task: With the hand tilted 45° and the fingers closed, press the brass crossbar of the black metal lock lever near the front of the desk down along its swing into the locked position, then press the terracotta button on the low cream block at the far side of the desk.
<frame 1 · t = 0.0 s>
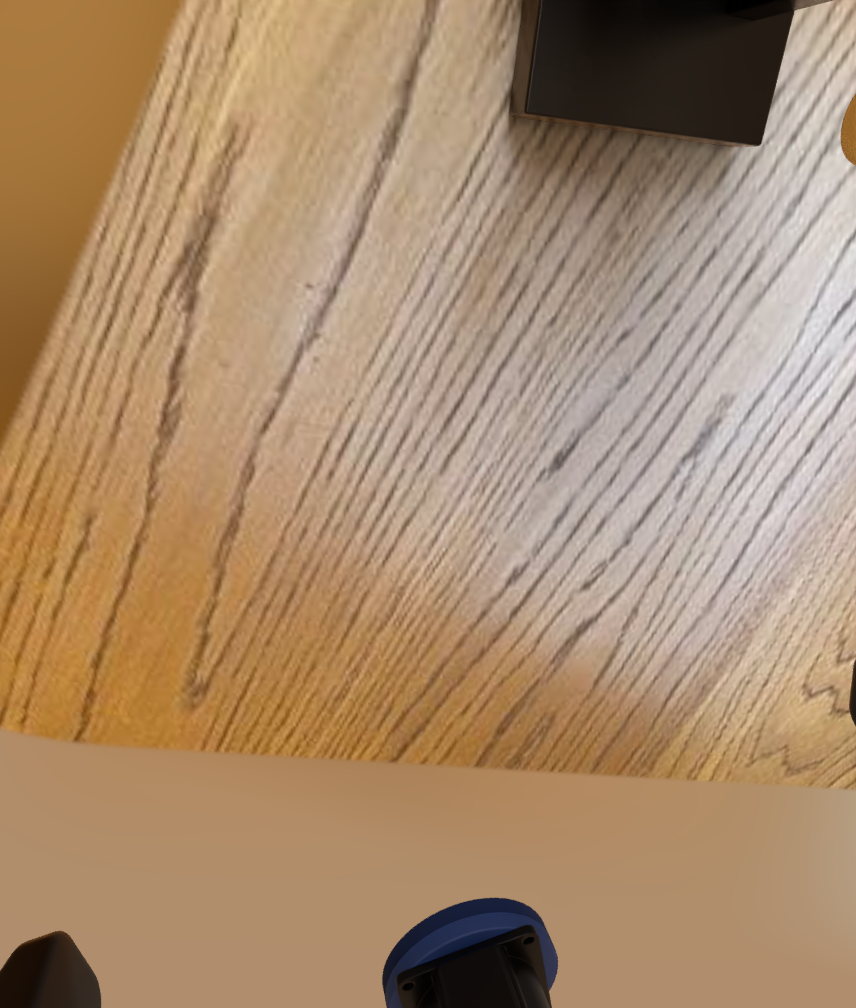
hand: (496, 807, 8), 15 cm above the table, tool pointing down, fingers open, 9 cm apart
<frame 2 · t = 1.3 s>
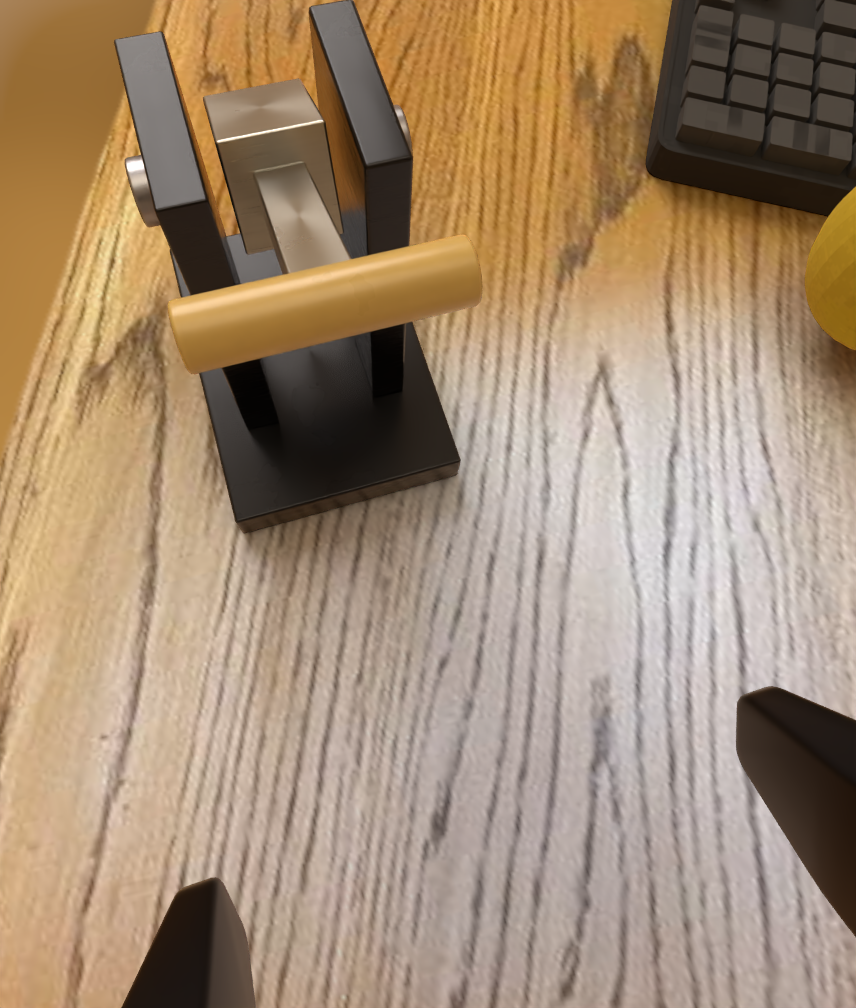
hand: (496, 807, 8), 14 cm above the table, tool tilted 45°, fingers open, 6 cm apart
lock lever: (294, 216, 15), point 10 cm above the table, hinge at 25.0°
black upright frame: (312, 368, 25), on the table
lemon: (835, 330, 27), on the table
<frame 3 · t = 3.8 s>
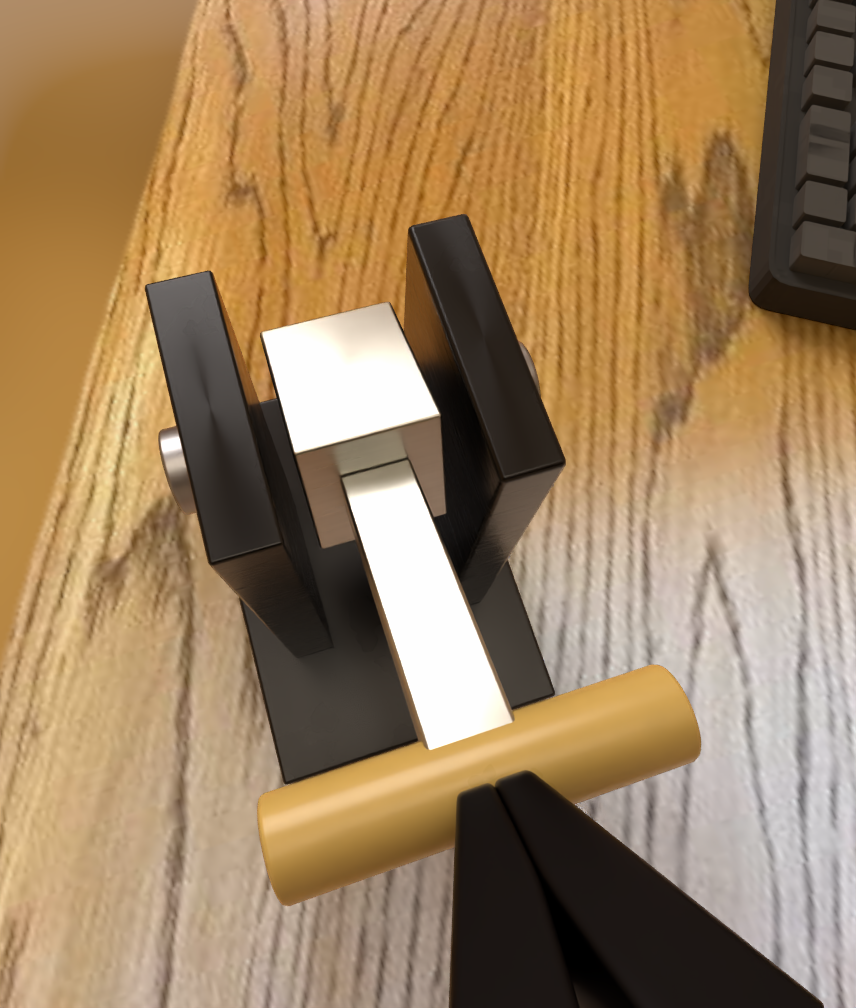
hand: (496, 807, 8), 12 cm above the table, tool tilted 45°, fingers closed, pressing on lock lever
lock lever: (399, 548, 11), point 10 cm above the table, hinge at 19.4°, touching gripper
black upright frame: (368, 560, 21), on the table
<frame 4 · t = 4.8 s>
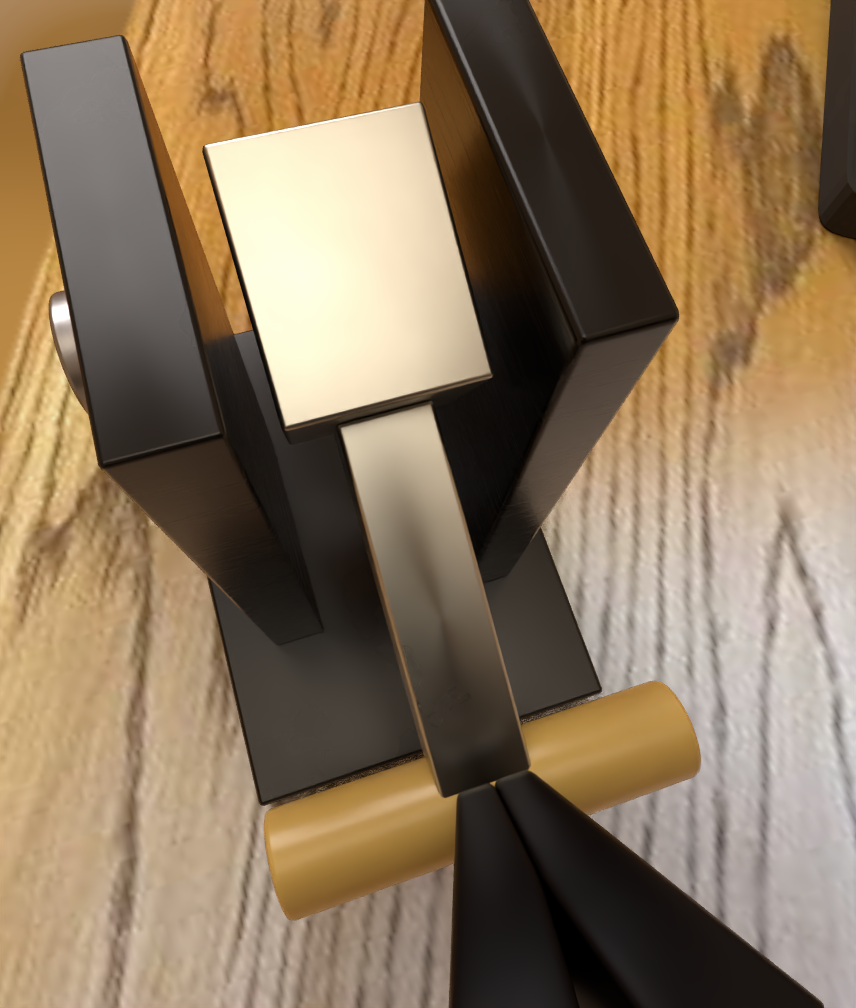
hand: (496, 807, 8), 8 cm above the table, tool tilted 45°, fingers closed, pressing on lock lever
lock lever: (408, 516, 9), point 8 cm above the table, hinge at -21.1°, touching gripper
black upright frame: (367, 528, 17), on the table
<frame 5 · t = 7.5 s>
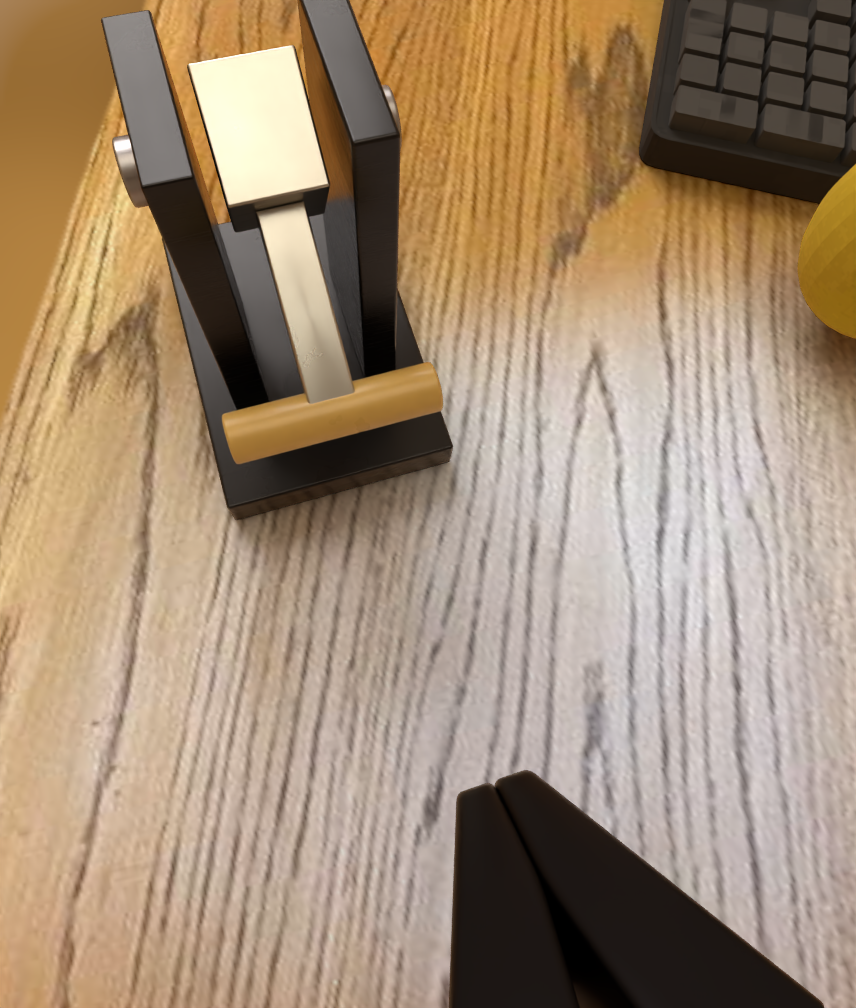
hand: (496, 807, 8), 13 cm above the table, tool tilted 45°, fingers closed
lock lever: (294, 265, 17), point 8 cm above the table, hinge at -27.8°
black upright frame: (305, 356, 25), on the table
lemon: (829, 318, 27), on the table
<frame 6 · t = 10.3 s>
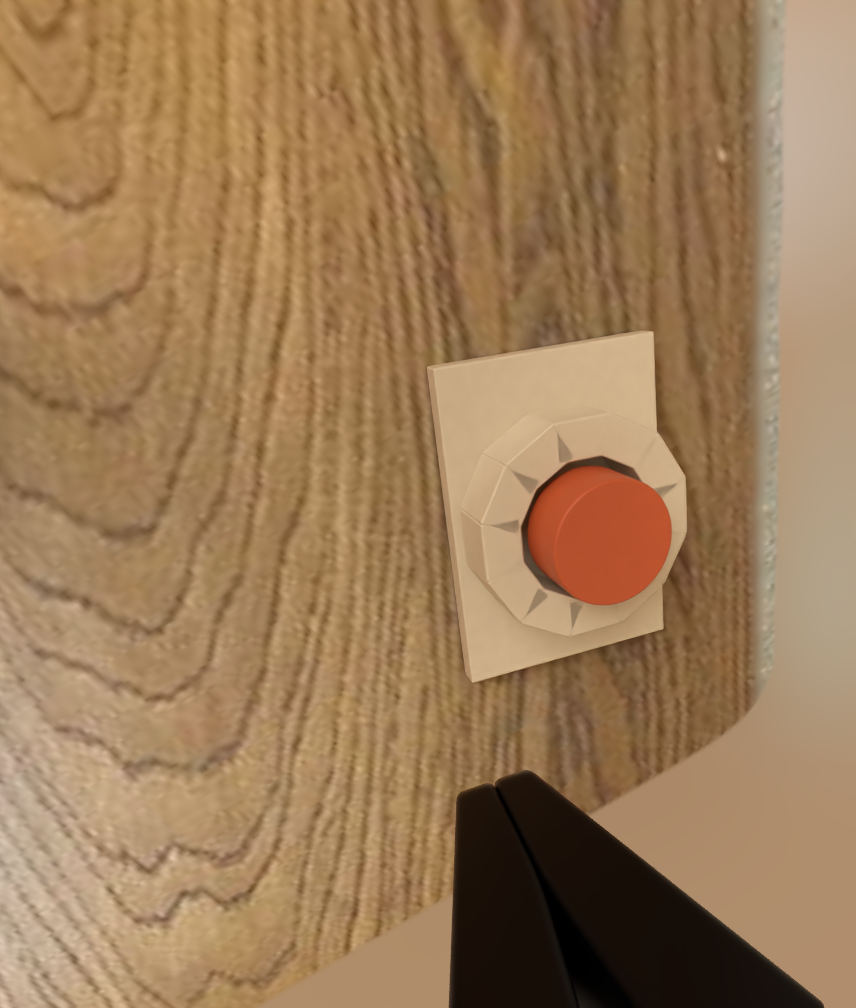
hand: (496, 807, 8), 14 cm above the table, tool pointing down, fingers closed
bell block: (550, 506, 23), on the table
button: (598, 534, 21), point 3 cm above the table, slide at 0.1 cm
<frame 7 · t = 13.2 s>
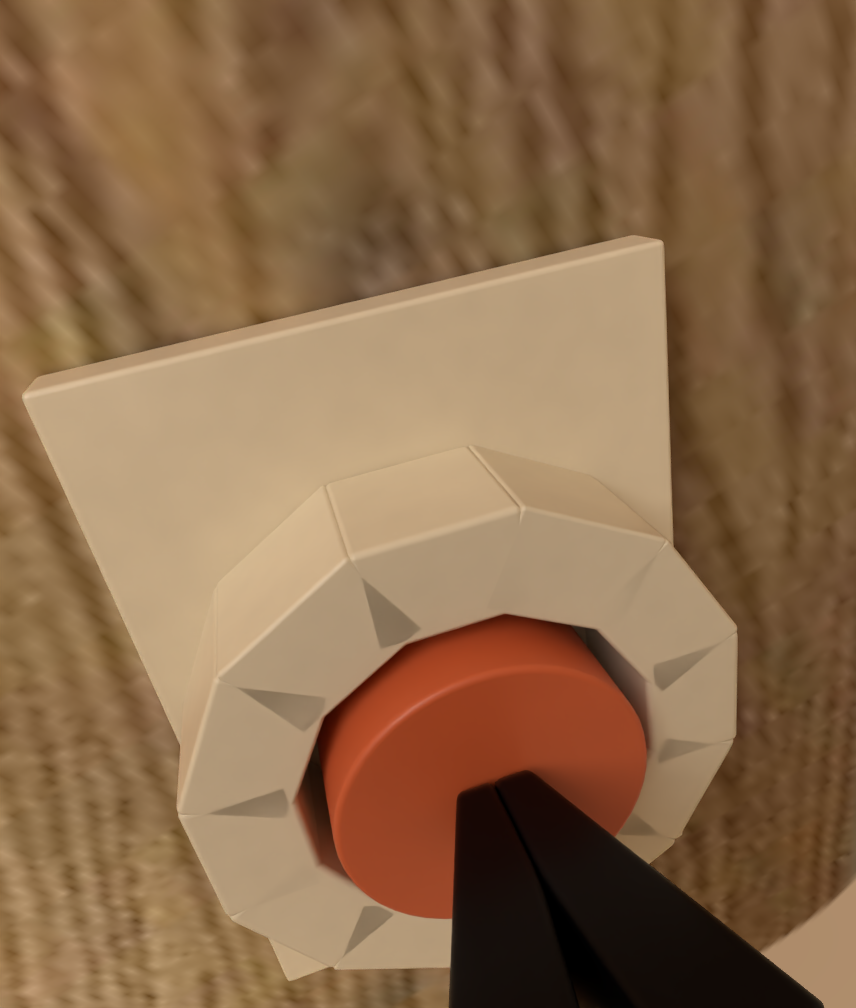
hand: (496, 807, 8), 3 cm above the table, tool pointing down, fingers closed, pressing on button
bell block: (430, 647, 11), on the table
button: (474, 748, 9), point 2 cm above the table, slide at -0.8 cm, touching gripper
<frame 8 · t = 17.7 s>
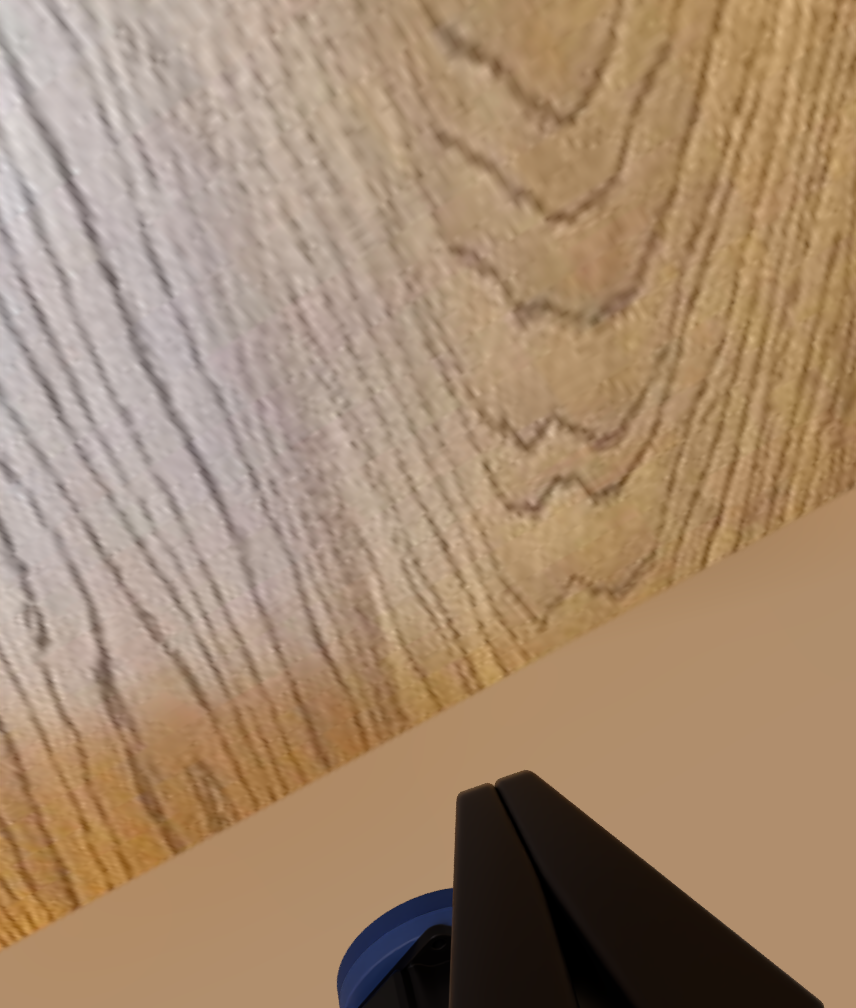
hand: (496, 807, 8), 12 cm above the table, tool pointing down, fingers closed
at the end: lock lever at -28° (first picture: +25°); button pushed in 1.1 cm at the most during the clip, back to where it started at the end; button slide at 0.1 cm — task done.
